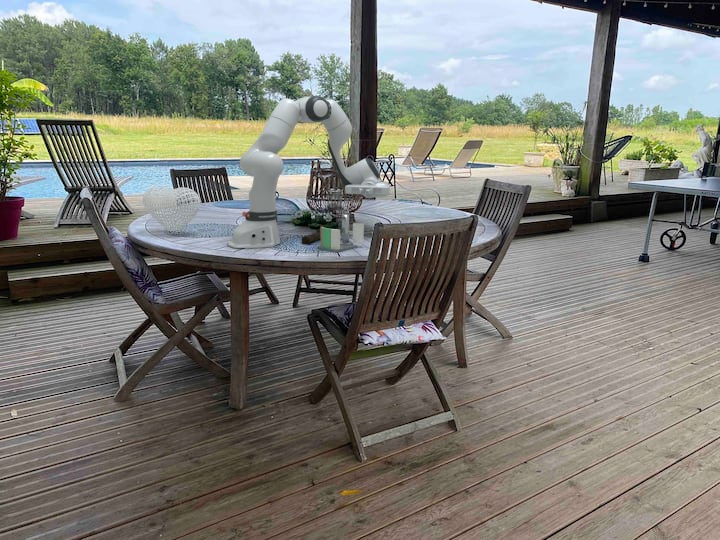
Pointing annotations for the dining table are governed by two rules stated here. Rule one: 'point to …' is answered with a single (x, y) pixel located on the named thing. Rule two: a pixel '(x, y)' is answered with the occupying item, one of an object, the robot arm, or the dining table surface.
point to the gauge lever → (357, 231)
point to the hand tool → (311, 237)
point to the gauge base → (333, 241)
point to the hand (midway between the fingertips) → (364, 191)
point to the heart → (175, 192)
